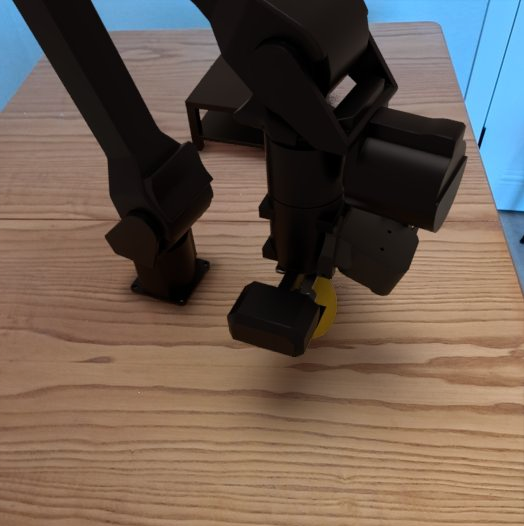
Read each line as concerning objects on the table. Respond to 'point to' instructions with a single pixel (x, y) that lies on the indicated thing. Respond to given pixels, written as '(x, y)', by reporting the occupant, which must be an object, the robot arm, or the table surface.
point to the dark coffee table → (221, 109)
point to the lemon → (328, 299)
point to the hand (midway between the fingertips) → (306, 321)
